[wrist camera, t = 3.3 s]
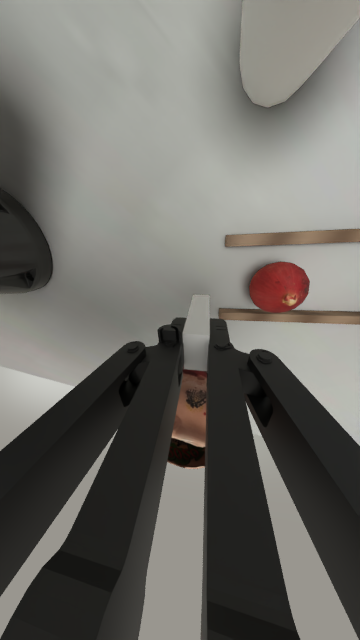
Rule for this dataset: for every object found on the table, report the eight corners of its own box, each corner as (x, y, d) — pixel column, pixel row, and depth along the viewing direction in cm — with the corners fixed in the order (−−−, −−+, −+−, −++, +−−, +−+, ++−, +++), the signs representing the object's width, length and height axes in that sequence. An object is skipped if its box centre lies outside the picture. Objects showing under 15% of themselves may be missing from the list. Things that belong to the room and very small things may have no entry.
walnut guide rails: (218, 315, 25) (219, 319, 24) (225, 235, 19) (227, 235, 18) (387, 320, 21) (399, 325, 20) (455, 224, 16) (478, 223, 14)
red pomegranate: (291, 252, 19) (338, 262, 12) (289, 294, 22) (327, 323, 15) (242, 264, 21) (259, 279, 14) (245, 302, 23) (261, 331, 16)
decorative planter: (251, 374, 30) (281, 467, 18) (225, 406, 36) (234, 492, 24) (155, 342, 30) (120, 415, 18) (145, 380, 36) (114, 453, 24)
